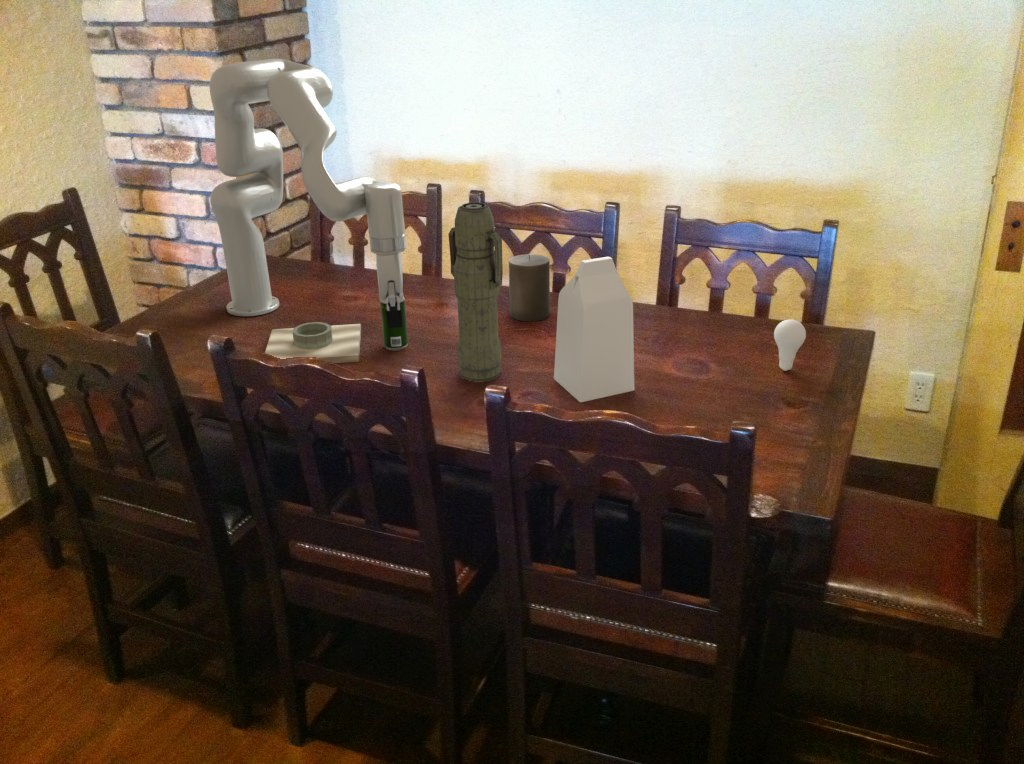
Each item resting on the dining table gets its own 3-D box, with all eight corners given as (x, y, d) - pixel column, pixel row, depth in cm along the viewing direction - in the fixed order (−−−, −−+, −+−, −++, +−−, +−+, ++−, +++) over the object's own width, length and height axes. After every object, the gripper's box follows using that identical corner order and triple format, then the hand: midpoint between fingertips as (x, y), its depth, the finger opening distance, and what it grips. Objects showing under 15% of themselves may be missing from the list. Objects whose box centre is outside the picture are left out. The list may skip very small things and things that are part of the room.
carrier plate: (273, 335, 198) (270, 317, 196) (361, 329, 200) (359, 311, 198) (263, 368, 182) (259, 348, 180) (358, 361, 184) (356, 342, 182)
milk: (580, 402, 166) (582, 273, 154) (553, 378, 175) (554, 255, 164) (634, 390, 170) (640, 263, 158) (605, 368, 179) (609, 247, 168)
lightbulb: (795, 379, 173) (803, 328, 168) (765, 372, 176) (771, 322, 171) (804, 367, 178) (811, 318, 173) (774, 361, 181) (780, 312, 176)
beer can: (410, 348, 190) (407, 297, 185) (386, 352, 188) (382, 300, 183) (405, 339, 195) (401, 289, 189) (381, 343, 193) (377, 292, 188)
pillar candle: (550, 321, 203) (550, 260, 196) (508, 322, 203) (507, 260, 197) (549, 307, 212) (549, 248, 205) (509, 307, 212) (508, 248, 206)
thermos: (466, 359, 184) (459, 197, 169) (515, 370, 179) (512, 203, 164) (443, 375, 177) (434, 207, 162) (493, 387, 172) (488, 214, 157)
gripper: (370, 232, 188) (378, 306, 196) (369, 256, 173) (377, 335, 180) (405, 230, 189) (411, 304, 197) (406, 253, 174) (413, 332, 181)
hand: (395, 318), depth 188 cm, fingers open, 9 cm apart
